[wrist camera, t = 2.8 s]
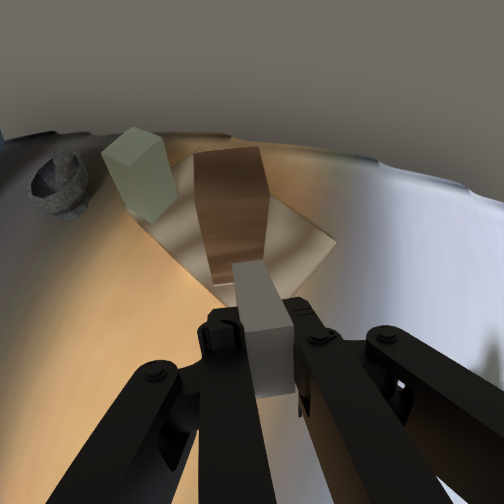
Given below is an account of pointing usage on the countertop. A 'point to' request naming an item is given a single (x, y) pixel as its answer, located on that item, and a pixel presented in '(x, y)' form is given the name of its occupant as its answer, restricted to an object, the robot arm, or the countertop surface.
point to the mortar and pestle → (60, 185)
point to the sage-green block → (141, 172)
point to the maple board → (275, 251)
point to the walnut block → (231, 208)
